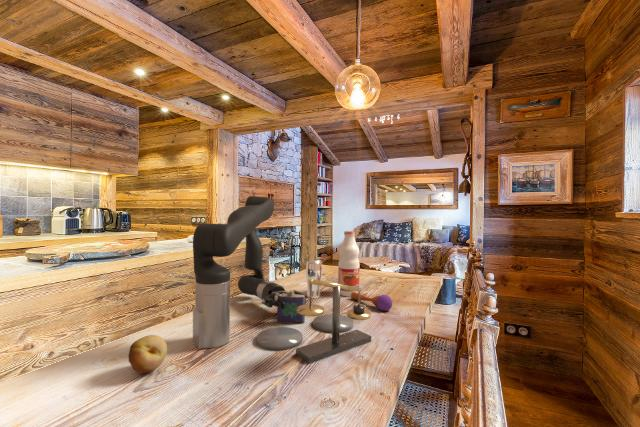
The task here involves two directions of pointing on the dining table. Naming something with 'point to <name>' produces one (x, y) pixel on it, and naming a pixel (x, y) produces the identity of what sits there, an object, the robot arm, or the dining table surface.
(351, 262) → the fruit juice
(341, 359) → the dining table surface
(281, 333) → the gray domed disc
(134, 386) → the dining table surface
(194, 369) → the dining table surface
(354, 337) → the balance
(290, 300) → the flask
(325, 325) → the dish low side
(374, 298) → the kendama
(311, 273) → the beer glass
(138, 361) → the fruit
